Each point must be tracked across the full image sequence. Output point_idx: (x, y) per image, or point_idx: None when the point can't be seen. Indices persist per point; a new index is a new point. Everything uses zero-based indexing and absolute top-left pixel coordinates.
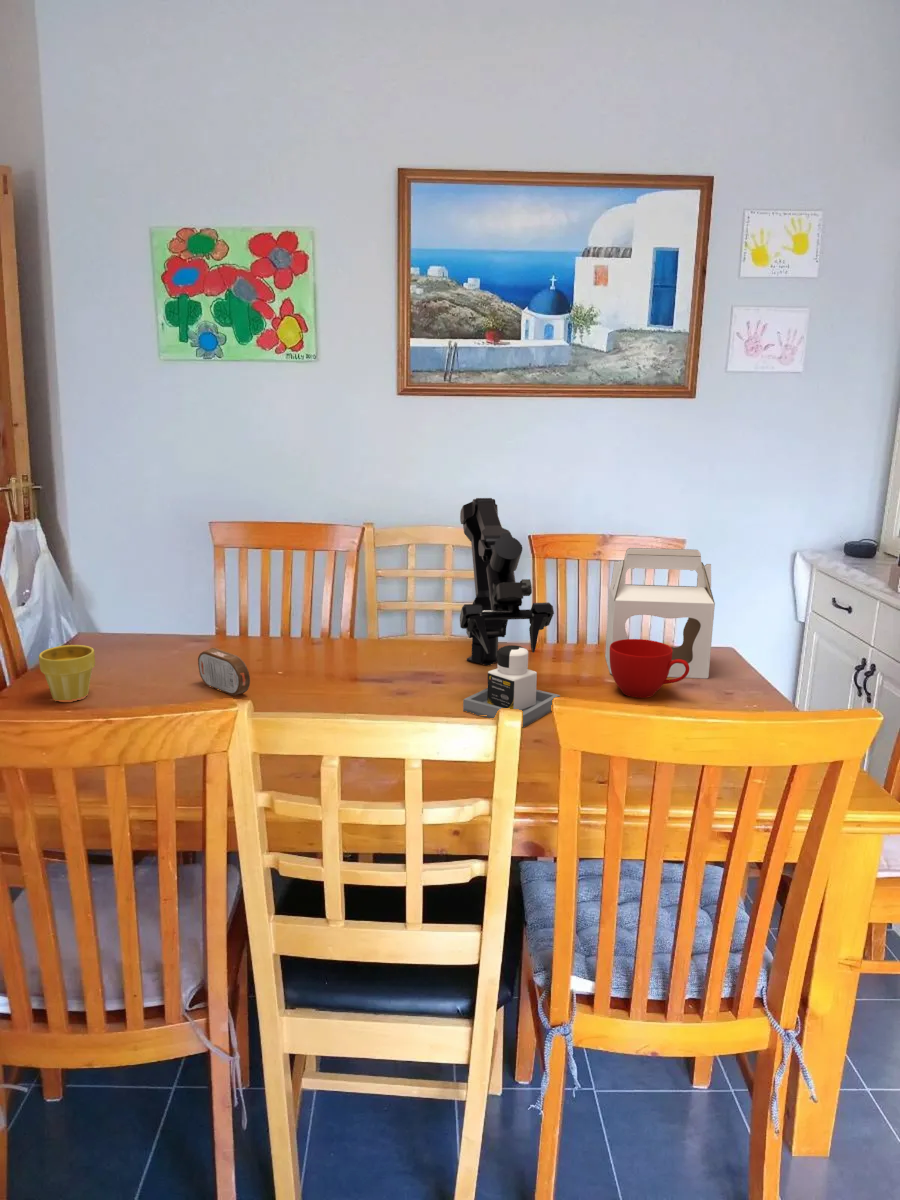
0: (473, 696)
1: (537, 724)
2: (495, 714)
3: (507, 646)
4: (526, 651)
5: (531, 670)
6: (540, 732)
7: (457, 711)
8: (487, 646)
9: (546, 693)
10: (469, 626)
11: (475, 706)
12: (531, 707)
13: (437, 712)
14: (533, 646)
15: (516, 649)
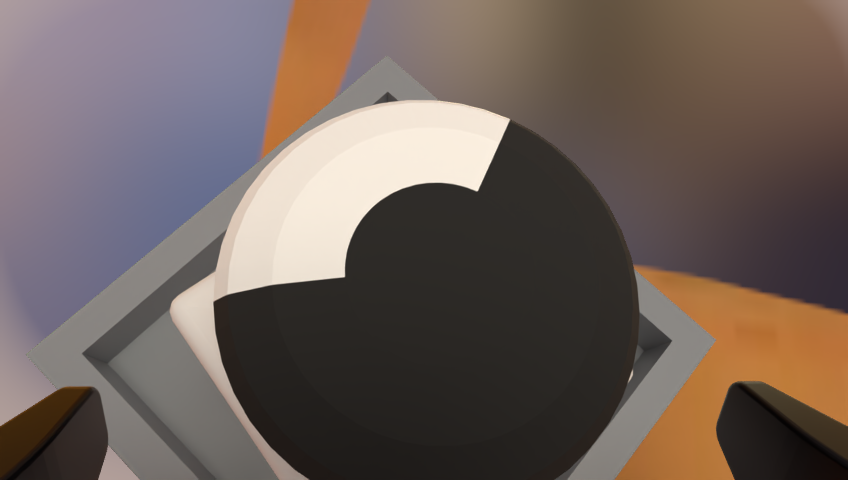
0: (652, 389)
1: (298, 125)
2: None
3: (513, 367)
4: (258, 194)
5: (211, 337)
6: (312, 36)
7: (706, 355)
8: (810, 415)
9: (115, 402)
10: None
11: None
12: None
13: (812, 351)
14: (60, 409)
15: (406, 190)
